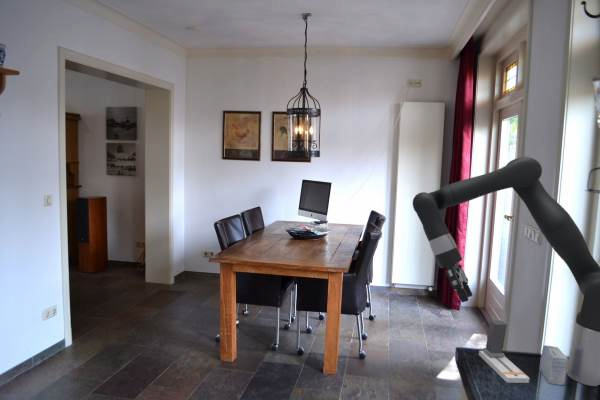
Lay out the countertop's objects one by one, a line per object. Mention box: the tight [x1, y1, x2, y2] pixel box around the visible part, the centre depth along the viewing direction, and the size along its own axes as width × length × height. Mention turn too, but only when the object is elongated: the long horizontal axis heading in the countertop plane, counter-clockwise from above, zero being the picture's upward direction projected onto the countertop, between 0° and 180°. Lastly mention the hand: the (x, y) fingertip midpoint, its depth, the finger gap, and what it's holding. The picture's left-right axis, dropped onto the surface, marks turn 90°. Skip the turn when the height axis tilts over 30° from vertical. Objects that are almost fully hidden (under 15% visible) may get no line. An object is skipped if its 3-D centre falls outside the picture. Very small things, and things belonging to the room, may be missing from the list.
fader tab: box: [482, 319, 508, 357], centre depth 136 cm, size 5×4×11 cm
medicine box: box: [539, 345, 569, 386], centre depth 128 cm, size 8×4×9 cm, turn 168°
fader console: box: [478, 350, 530, 384], centre depth 132 cm, size 7×16×2 cm, turn 6°
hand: (467, 298), depth 130 cm, fingers open, 8 cm apart
